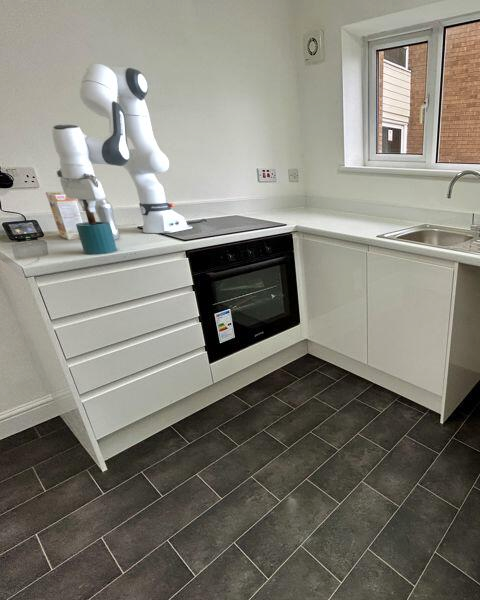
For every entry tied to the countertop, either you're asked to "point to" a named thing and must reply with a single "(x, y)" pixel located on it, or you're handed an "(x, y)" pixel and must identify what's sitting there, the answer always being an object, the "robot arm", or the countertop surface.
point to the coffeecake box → (65, 214)
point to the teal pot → (96, 238)
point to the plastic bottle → (106, 215)
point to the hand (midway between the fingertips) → (89, 211)
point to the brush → (89, 214)
